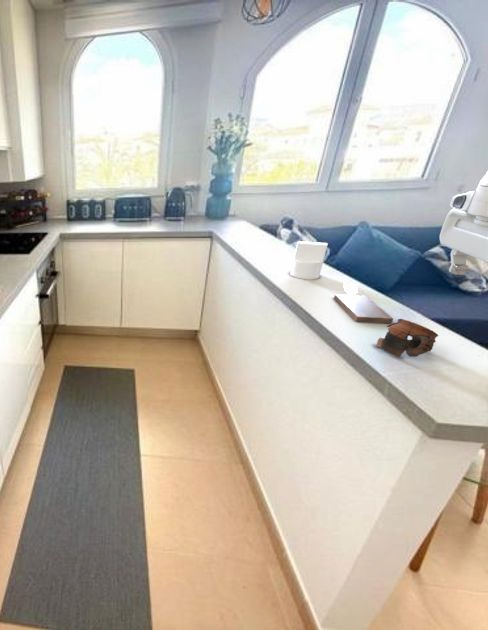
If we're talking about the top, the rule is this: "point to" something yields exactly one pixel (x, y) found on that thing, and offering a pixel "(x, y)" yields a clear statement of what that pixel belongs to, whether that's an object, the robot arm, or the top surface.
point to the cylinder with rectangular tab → (308, 259)
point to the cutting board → (362, 309)
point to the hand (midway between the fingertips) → (473, 282)
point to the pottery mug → (399, 343)
